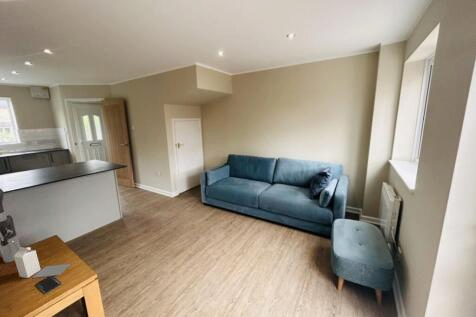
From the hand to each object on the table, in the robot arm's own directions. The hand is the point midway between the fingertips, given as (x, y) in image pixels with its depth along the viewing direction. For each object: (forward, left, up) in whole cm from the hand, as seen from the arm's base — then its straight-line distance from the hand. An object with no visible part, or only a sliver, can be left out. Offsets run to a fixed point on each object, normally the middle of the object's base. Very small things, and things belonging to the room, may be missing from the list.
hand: (5, 245), depth 124 cm
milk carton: (+9, +5, -22) cm, 24 cm away
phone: (+33, +5, -22) cm, 40 cm away
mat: (+20, +12, -22) cm, 32 cm away
